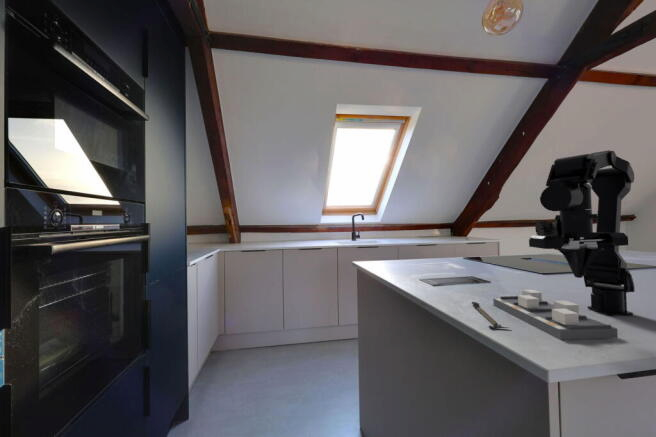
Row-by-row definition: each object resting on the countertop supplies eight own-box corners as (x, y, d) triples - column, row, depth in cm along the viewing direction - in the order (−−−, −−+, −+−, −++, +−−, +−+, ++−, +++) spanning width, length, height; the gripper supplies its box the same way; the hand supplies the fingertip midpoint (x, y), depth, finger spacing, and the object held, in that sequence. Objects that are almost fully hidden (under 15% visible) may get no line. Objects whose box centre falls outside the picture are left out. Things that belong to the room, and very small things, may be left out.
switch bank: (534, 304, 86) (534, 295, 86) (617, 338, 61) (617, 325, 61) (493, 305, 86) (493, 296, 86) (560, 339, 61) (559, 327, 61)
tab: (529, 304, 79) (529, 295, 79) (539, 308, 75) (538, 298, 75) (518, 304, 79) (517, 295, 79) (527, 308, 75) (526, 299, 75)
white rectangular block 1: (532, 297, 85) (532, 289, 85) (541, 301, 81) (541, 292, 81) (522, 298, 85) (522, 289, 85) (531, 301, 81) (530, 292, 81)
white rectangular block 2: (566, 310, 73) (566, 300, 73) (578, 315, 69) (578, 304, 69) (554, 310, 73) (554, 301, 73) (566, 315, 69) (565, 305, 69)
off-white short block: (565, 319, 67) (564, 308, 67) (578, 324, 63) (578, 313, 63) (552, 319, 67) (551, 308, 67) (564, 325, 63) (564, 313, 63)
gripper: (584, 209, 76) (587, 269, 76) (513, 212, 76) (515, 272, 76) (629, 207, 65) (632, 278, 65) (545, 211, 64) (548, 282, 64)
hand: (578, 277), depth 68 cm, fingers closed
